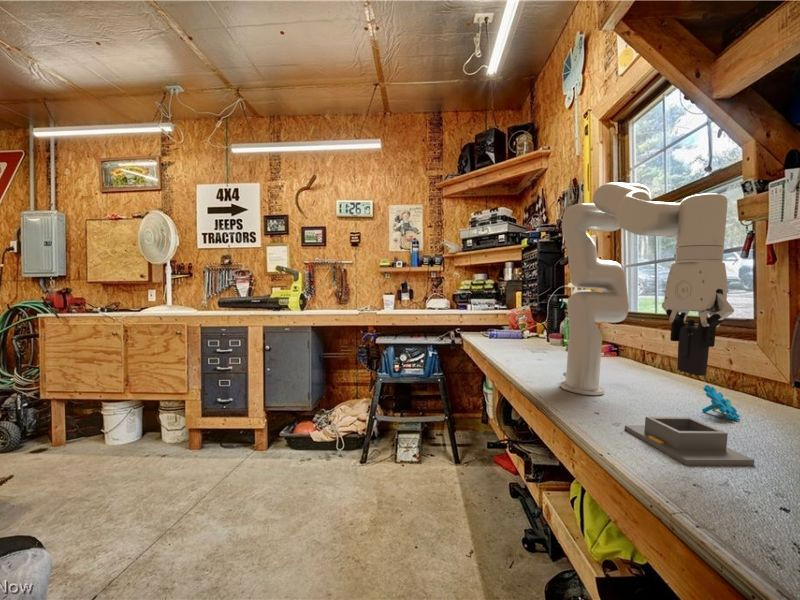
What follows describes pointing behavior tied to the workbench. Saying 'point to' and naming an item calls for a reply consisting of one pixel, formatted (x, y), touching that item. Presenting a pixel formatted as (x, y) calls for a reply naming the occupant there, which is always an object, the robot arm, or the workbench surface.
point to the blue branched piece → (720, 403)
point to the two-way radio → (691, 350)
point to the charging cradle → (689, 441)
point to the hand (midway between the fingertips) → (691, 342)
